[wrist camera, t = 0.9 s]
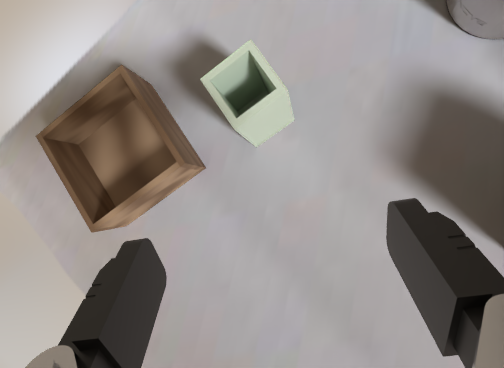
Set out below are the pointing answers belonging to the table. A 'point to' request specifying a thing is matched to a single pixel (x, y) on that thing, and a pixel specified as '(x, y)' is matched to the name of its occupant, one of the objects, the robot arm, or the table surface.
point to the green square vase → (250, 94)
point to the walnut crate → (119, 151)
